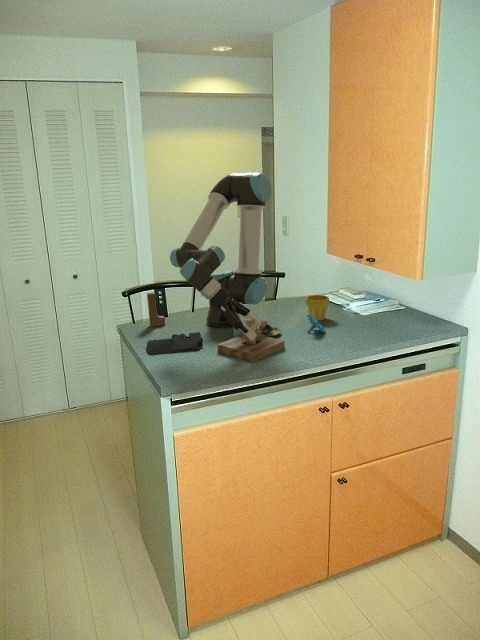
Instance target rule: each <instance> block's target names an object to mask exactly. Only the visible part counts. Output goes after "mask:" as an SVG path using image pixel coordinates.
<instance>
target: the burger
mask: <svg viewBox="0 0 480 640" xmlns="http://www.w3.org/2000/svg"><path fill="white" fill-rule="evenodd" d="M260 323H261V325H260V326H259V327H258V328H257V329H256V328H255V334H258V335H262V336H267V337H271V338H273V337H276V336H278V335H279V334H280V333H282V330H281V329H280V328H278V327H273V326H271V325H270V324H268V323H269V321H268V320H261V322H260Z"/></svg>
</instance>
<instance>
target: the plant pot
mask: <svg viewBox="0 0 480 640" xmlns="http://www.w3.org/2000/svg"><path fill="white" fill-rule="evenodd" d="M305 305H306V306H307V310H308V315H311V316H312V317H313V318H314V319H315V320H317V321H323V320H325V319H326V316H327V315H326V314H327V310H328V307H329V305H330V297H329V296H327V295H324V294H311V295H307V296H306V297H305Z"/></svg>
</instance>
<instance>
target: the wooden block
mask: <svg viewBox="0 0 480 640" xmlns="http://www.w3.org/2000/svg"><path fill="white" fill-rule="evenodd" d="M146 298H147V299H146V300H147V307H148V308H147V309H148V318H149V319H148V320H149V325H150V328H152V327H153V328H154V327H161V326H166V318H165V316H164V315H158V313H157V310H158V309H157V301H156V293H155V292H154V291H153V292H147V293H146Z"/></svg>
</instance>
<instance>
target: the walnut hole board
mask: <svg viewBox="0 0 480 640" xmlns="http://www.w3.org/2000/svg"><path fill="white" fill-rule="evenodd" d="M256 335H257V336H256V344H255V345H253V346H250V345H246V335H245V334H244V333H243V335H241V336H238V337H235V338H234V337H233V338H230V339H228V340H226V341H223V342H220V343H217V344H216V345H217V352H218V353H220V354H224V355H227V356H228V355H229V356H230V357H235V358H238V359H241V360H245V361H248V362H252V363H255V362H257V361H260V360H261V358H262V359H264V358H266V357H268V356H271V355H273V354H274V352H275V353H277V352H279V351H282V350H284V349H286V348H285V343H286V341H285V340H284V339H283V340H282V339H278V338H275V337H267V336H262V335H258V334H256ZM281 349H282V350H281ZM272 353H273V354H272ZM270 354H271V355H270ZM259 359H260V360H259Z"/></svg>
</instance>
